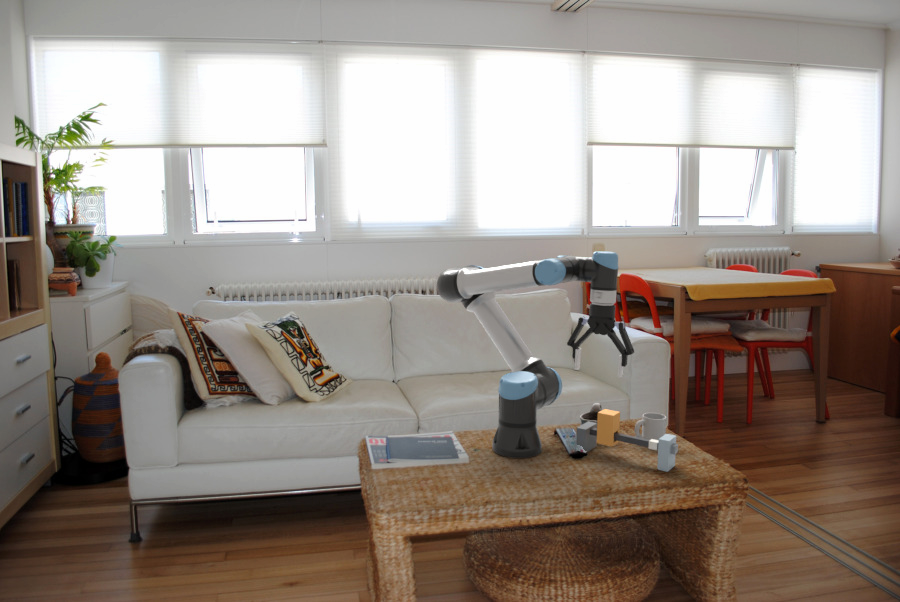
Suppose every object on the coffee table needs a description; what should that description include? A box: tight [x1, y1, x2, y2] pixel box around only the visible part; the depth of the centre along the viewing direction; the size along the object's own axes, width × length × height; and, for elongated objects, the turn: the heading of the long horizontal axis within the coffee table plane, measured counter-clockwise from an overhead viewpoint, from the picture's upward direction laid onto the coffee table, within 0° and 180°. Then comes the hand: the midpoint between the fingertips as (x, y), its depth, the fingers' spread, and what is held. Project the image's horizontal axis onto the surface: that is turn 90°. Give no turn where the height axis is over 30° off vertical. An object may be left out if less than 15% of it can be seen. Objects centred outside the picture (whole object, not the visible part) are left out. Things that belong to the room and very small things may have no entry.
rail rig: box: [575, 421, 679, 473], centre depth 197 cm, size 29×8×9 cm, turn 53°
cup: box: [634, 412, 667, 440], centre depth 210 cm, size 7×10×9 cm
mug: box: [579, 402, 603, 426], centre depth 217 cm, size 10×12×10 cm
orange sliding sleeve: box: [596, 408, 621, 447], centre depth 200 cm, size 5×5×10 cm
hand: (598, 373), depth 200 cm, fingers open, 13 cm apart
